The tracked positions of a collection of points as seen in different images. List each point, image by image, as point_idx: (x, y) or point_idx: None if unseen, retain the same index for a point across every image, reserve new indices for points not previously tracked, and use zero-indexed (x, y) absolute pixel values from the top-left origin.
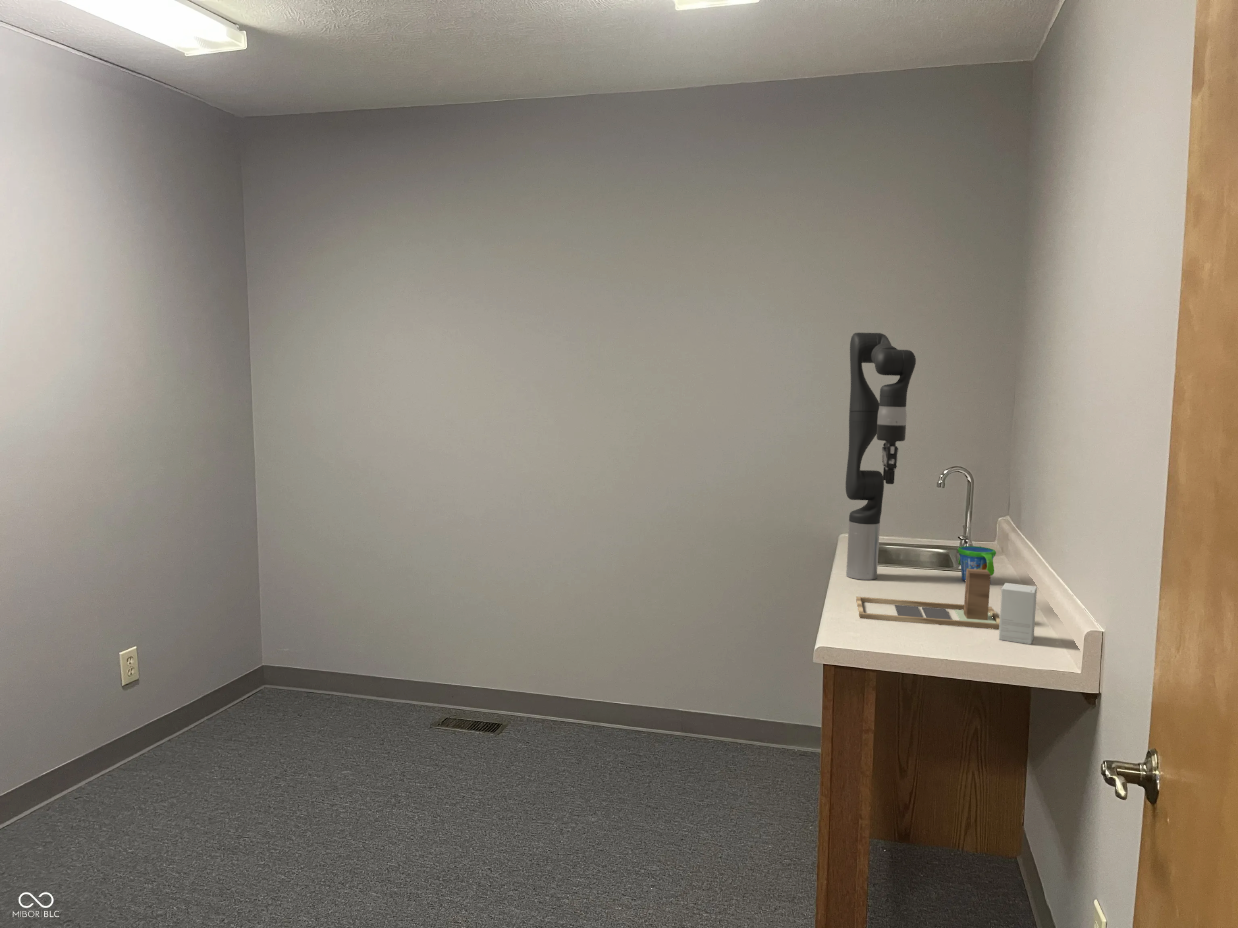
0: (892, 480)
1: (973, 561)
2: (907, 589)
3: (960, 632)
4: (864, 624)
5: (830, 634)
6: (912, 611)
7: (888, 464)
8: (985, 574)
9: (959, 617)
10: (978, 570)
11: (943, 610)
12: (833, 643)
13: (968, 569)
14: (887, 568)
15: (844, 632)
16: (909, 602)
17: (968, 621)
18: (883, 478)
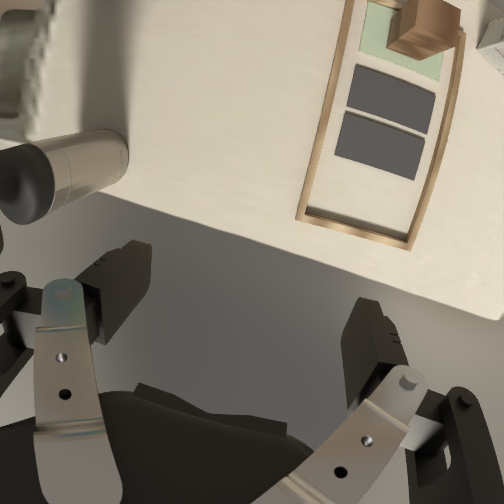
0: (393, 327)
1: None
2: (190, 86)
3: (482, 115)
4: (439, 251)
5: (467, 308)
6: (380, 139)
7: (443, 453)
8: (459, 18)
9: (413, 70)
10: (429, 10)
11: (368, 75)
12: (493, 312)
13: (423, 26)
14: (45, 100)
15: (464, 290)
16: (327, 123)
17: (455, 80)
18: (143, 293)
